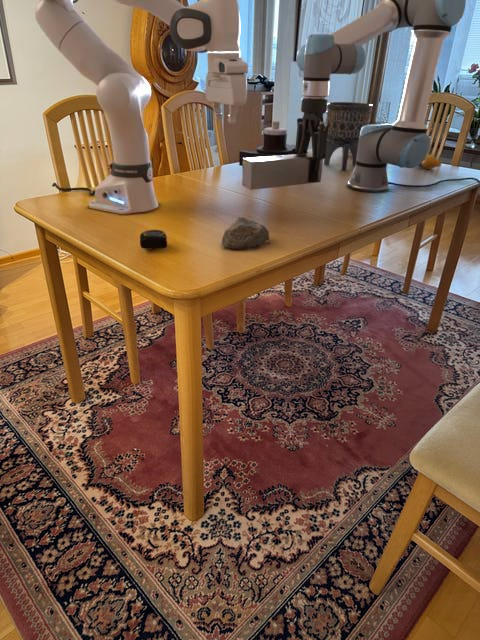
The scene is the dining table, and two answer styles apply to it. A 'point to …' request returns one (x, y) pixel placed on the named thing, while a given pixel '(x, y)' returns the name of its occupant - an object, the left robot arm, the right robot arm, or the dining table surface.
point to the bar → (277, 171)
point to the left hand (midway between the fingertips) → (225, 121)
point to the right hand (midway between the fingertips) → (307, 179)
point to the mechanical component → (271, 144)
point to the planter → (345, 128)
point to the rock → (245, 234)
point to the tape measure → (153, 239)
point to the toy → (430, 162)
